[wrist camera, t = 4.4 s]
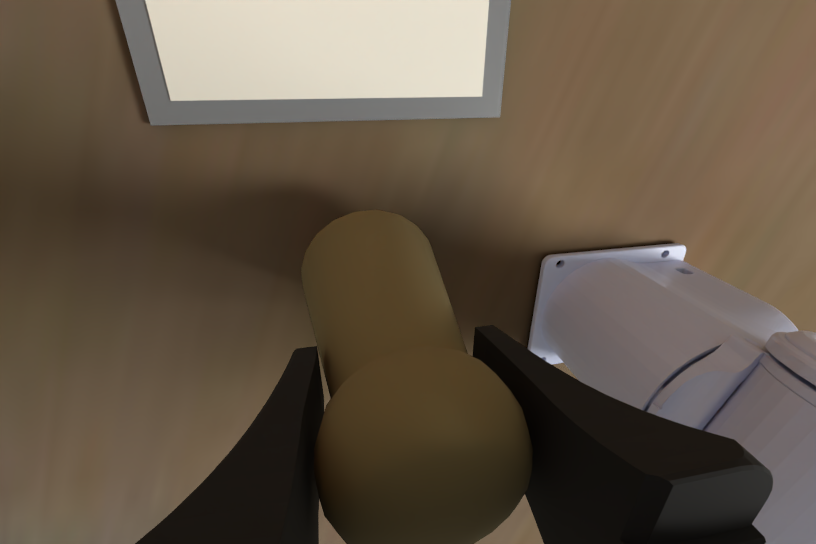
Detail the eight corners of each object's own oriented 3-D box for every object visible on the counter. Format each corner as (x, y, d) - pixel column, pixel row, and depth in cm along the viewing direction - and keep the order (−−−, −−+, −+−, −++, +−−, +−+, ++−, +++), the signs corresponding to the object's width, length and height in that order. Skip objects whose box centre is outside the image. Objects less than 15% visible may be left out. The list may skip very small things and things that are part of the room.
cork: (303, 203, 15) (295, 431, 6) (446, 214, 17) (622, 407, 7) (298, 329, 18) (288, 625, 8) (423, 328, 20) (530, 576, 10)
